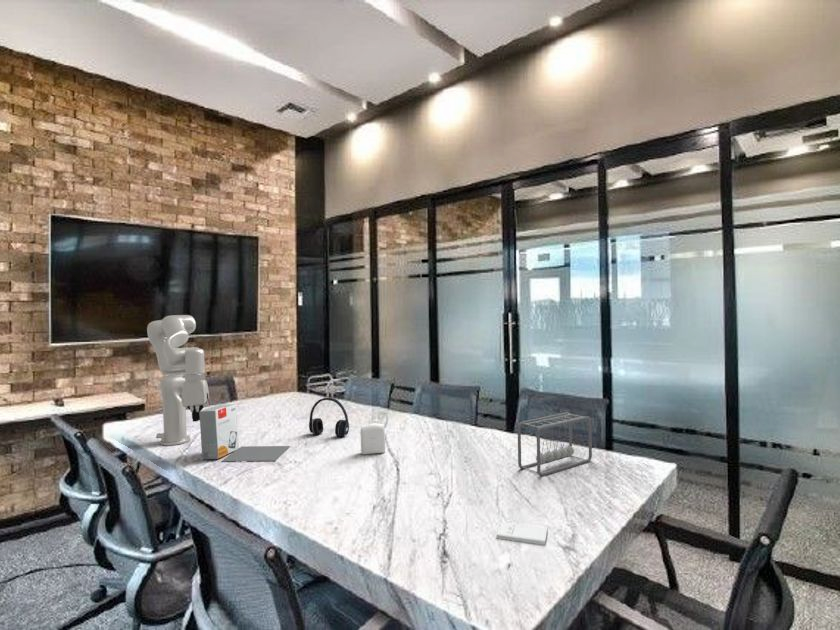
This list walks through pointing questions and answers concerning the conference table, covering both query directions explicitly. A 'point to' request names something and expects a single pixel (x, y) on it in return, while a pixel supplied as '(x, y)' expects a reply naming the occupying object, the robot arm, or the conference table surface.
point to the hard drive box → (219, 431)
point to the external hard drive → (523, 533)
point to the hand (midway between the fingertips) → (196, 420)
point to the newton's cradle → (554, 453)
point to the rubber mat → (256, 453)
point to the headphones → (317, 423)
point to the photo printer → (372, 438)
